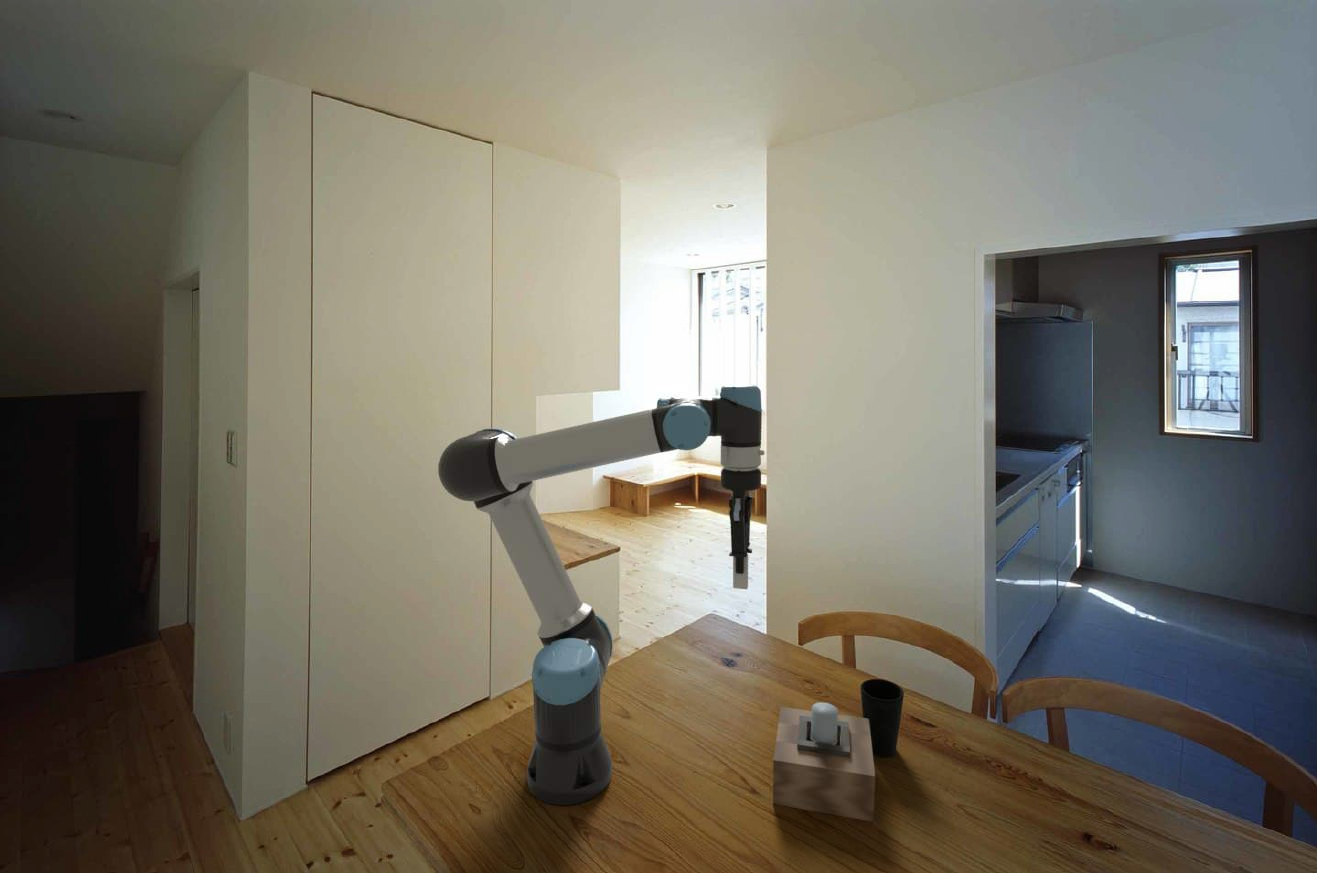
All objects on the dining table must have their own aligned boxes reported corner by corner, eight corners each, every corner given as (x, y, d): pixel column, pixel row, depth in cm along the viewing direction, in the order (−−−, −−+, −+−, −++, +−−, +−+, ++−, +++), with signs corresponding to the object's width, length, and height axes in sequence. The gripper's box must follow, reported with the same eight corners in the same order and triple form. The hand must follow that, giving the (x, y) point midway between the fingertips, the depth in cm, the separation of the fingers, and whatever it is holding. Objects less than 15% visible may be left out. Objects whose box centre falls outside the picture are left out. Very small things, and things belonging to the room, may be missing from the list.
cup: (906, 763, 112) (908, 702, 110) (862, 759, 113) (864, 699, 111) (896, 737, 119) (898, 679, 118) (856, 734, 121) (857, 677, 119)
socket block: (773, 804, 102) (773, 754, 101) (780, 745, 117) (780, 701, 116) (873, 822, 98) (875, 770, 97) (867, 758, 113) (868, 713, 112)
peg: (809, 778, 106) (810, 715, 104) (810, 762, 110) (811, 700, 109) (836, 783, 105) (838, 719, 103) (836, 766, 109) (838, 704, 107)
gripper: (757, 474, 107) (756, 602, 110) (764, 461, 120) (763, 577, 123) (715, 473, 109) (715, 598, 112) (726, 460, 122) (726, 574, 125)
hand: (740, 587), depth 117 cm, fingers closed
